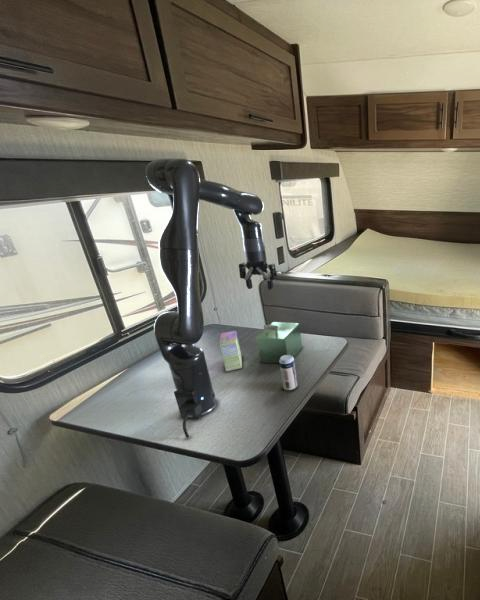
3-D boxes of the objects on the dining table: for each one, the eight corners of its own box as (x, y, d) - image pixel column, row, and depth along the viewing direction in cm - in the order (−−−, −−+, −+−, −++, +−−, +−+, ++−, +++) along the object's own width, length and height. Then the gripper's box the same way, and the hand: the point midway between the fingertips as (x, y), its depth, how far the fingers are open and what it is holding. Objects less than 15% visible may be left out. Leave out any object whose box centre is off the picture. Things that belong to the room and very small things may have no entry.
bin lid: (284, 340, 123) (282, 328, 121) (255, 339, 124) (253, 327, 122) (299, 324, 136) (298, 313, 134) (273, 323, 137) (271, 312, 135)
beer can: (300, 387, 113) (296, 357, 109) (287, 393, 110) (282, 362, 106) (293, 381, 117) (289, 352, 112) (281, 386, 113) (276, 357, 109)
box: (226, 358, 131) (220, 333, 127) (241, 355, 133) (236, 330, 129) (225, 372, 122) (219, 344, 118) (241, 368, 124) (236, 341, 120)
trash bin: (288, 364, 127) (285, 339, 124) (261, 362, 129) (256, 338, 125) (302, 347, 140) (299, 324, 136) (276, 345, 141) (273, 323, 137)
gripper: (231, 250, 121) (238, 291, 127) (267, 251, 120) (272, 292, 126) (242, 246, 128) (248, 285, 134) (276, 247, 127) (281, 286, 133)
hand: (260, 288), depth 130 cm, fingers open, 8 cm apart
